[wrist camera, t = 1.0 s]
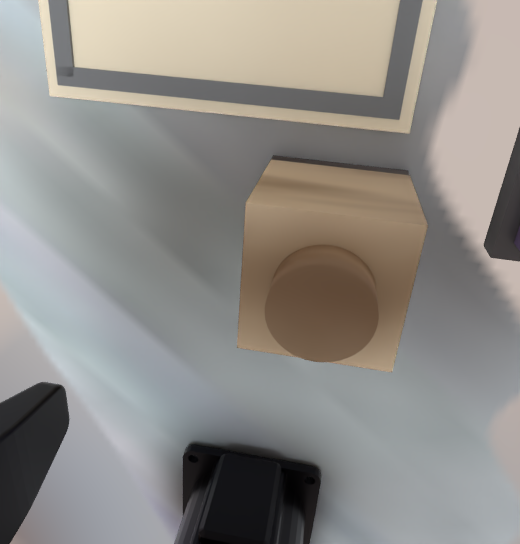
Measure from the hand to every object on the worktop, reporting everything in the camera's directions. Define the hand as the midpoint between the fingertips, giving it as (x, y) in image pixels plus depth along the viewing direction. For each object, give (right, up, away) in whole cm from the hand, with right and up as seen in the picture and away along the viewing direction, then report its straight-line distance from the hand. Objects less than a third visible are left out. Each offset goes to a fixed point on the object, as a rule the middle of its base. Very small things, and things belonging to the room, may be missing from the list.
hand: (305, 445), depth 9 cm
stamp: (+2, +5, +9) cm, 10 cm away
